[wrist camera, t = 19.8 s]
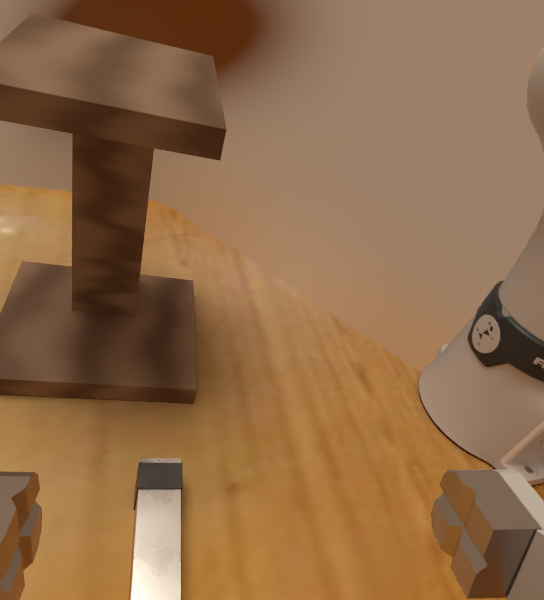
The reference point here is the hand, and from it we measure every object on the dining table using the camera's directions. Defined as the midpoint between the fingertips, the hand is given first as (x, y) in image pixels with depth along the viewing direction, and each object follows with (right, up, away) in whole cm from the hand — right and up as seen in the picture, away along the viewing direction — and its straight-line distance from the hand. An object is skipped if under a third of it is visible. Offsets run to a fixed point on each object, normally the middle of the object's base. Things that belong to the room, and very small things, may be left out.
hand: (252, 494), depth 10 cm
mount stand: (-17, 0, +39) cm, 43 cm away
